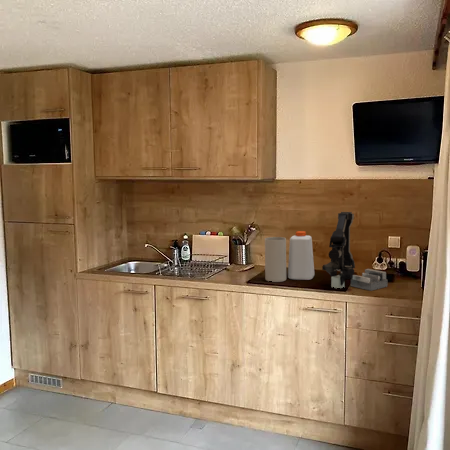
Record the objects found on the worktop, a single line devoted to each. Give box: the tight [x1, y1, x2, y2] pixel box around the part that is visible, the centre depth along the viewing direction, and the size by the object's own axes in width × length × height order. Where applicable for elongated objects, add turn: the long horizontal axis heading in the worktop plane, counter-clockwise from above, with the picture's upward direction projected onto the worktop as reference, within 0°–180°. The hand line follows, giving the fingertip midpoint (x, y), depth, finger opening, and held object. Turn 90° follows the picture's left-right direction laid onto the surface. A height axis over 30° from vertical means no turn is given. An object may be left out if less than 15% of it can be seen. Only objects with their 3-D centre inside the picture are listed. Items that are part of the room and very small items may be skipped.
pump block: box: [330, 274, 345, 289], centre depth 278 cm, size 5×5×6 cm
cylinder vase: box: [264, 236, 287, 283], centre depth 298 cm, size 12×12×25 cm
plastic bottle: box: [287, 230, 315, 281], centre depth 303 cm, size 15×15×28 cm
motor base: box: [350, 268, 388, 292], centre depth 278 cm, size 14×14×8 cm
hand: (337, 284), depth 278 cm, fingers closed on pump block, 5 cm apart
